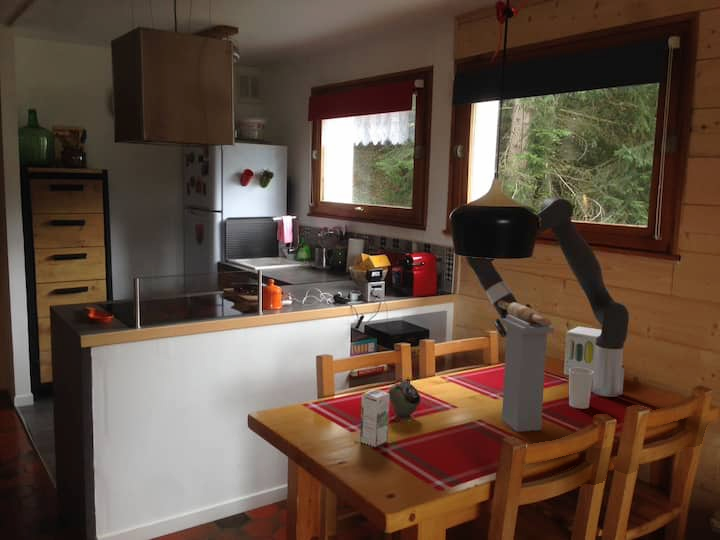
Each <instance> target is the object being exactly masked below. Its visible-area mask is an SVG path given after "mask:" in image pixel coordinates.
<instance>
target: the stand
mask: <svg viewBox="0 0 720 540" xmlns="http://www.w3.org/2000/svg"><path fill="white" fill-rule="evenodd" d="M500 319H501V324H502V325H503V326H507V333H506V337H505V356H504V371H503V373H504V374H503V375H504V376H503V377H504V378H503V392H502V413H501V421H503V423H505V424H506V425H508V426H509V427H510V428H512V429H513V430H514V431H515V432H519V433H520V432H531V431H532V430H533V431H541V430H542V423H543V422H542V419H543V402H544V401H543V400H544V390H545V389H544V387H545V373H546V372H545V371H546V354H547V338H548V334H552V333H553V334H554V332H555V327H554V326H552V325H550V326H549V327H545V326H543V325H541V324H538V323H534V324H529V323H527V322H525V321H523V320H520V319H518V318H516V317H514V316H511V315H506V318H501V317H500Z"/></svg>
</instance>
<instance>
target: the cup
mask: <svg viewBox="0 0 720 540" xmlns="http://www.w3.org/2000/svg"><path fill="white" fill-rule="evenodd" d="M593 375H594V371H592V370H590V369H586V368H579V367H575V368H570V369H569V376H568V385H569V386H568V387H569V389H568V391H569V393H568V394H569V395H568V398H569V399H568V400H569V402H568V404H569V406H570V407H572V408H575V409H582V410H583V409H588V408H589V407H590V400H591V393H592V388H593Z"/></svg>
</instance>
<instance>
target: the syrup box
mask: <svg viewBox="0 0 720 540" xmlns="http://www.w3.org/2000/svg"><path fill="white" fill-rule="evenodd" d="M389 397H390V394H389V392H386V391H384V390H380V389H372V390H369V391H366V392H363V393H361V406H360V407H361V408H360V429H359V430H360V432H359V433H360V434H359V442H360V443H361V442H362V444H364V443H365V445H367V444H368V445H367V446H370V445H371V446H370V447H373V446H374V447H373V448H377V447H379V446H381V445H383V444H385V443H388V439H389V419H390V417H389V416H390V399H389Z"/></svg>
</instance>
